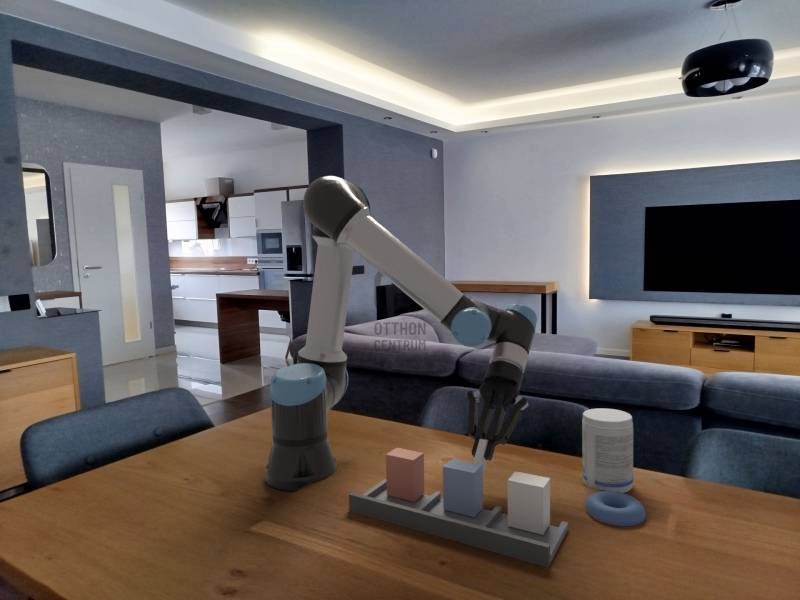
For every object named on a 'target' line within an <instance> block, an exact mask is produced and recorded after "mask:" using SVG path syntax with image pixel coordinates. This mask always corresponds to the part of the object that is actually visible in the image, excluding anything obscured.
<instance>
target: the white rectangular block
mask: <svg viewBox="0 0 800 600" xmlns="http://www.w3.org/2000/svg"><path fill="white" fill-rule="evenodd" d="M507 515H508V526H510V527H514V528H518V529H522V530H525V531H529V532H533V533H537V534H541V535H544V533H545V531H546V530H547V528H548V526H549V525H551V477H547V476H540V475H536V474H531V473H526V472H520V471H516V470H515V471H514V472H513V474H511V476H510V477H509V478H508V479H507Z"/></svg>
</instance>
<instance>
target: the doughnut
mask: <svg viewBox="0 0 800 600" xmlns="http://www.w3.org/2000/svg"><path fill="white" fill-rule="evenodd" d="M584 509H585V512H586V513H587V515H588V516H589V517H591V518H592V519H594V520H596V521H598V522H601V523H604V524H607V525H610V526H611V525H612V526H615V527H616V526H617V527H618V526H619V527H634V526H638V525H640V524H641V523H643V522H645V519H646V516H647V513H646V509H645V507H644V505H643V504H642V502H641V501H639V500H638V499H637V498H636V497H634V496H631V495H629V494H627V493H620V492H615V491H605V490H601V491H597V492H594V493H592V494H590V495H589V496H588V497H587V499H586V501H585V504H584Z"/></svg>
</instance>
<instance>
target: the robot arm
mask: <svg viewBox="0 0 800 600" xmlns="http://www.w3.org/2000/svg"><path fill="white" fill-rule="evenodd" d="M302 201H303V202H302V203H303V205H302V206H303V210H304V213H305V216H306V217H307V220H308V221H309V222H310V223H311V224H312V225H313V227H312V228H313V229H312V239H313V240H314V241H315V242H316V244H317V248H316V249H317V250H316V260H315V265H314V267H315V268H314V275H313V283H312V290H311V291H312V292H311V299H310V308H309V315H308V322H307V323H308V324H307V332H306V338H305V339H306V341H305V345H304V347H302V348H300V350H298V352H297V358H296V359H297V361H296V363H295V364H294V363H293V364H290V365H288V366H283V367H280V368H278V369H277V370H276V371H274V373H273V374H272V375H271V377H270V384H269V386H270V387H269V396H270V412H271V413H270V414H271V434H272V445H271V450H270V452H269V455H268V461H267V464H266V466H265V482H266V483H267V485H268V486H270V487H272V488H274V489H276V490H281V491H289V492H290V491H292V492H293V491H295V492H296V491H298V490H300V489H302V488H304V487H305V486H307V485H309V484H312V483H317V482H320V481H322V480H326V479H327V478H329V477H331V476H332V475H333V474H335V472H336V471H337V469H338V467H337V466H338V465H337V461H336V458H335V457H334V455H333V451H332V448H331V445H330V441H329V438H328V412H329V411H330V410H331V409H332V408H333V407H334V406H335V405H336V404H337V403H338V402H340V401H341V399H342V398H343V397H344V396H345V394H346V391H347V388H348V386H349V373H348V370H347V363H348V362H347V361H348V356H347V354H346V352H344V351H343V344H344V343H343V342H344V338H345V337H344V336H345V330H346V327H345V326H346V320H347V313H348V306H349V298H350V291H351V283H352V275H353V269H354V268H353V266H354V259H355V253H357V255H359V256H360V257H361V258H362V259H363V260H365V261H366V262H368V264H369V265H371V266H372V267H373V268H374V269H376V271H378V272H379V273H380V274H381V275H383V276H384V277H386V279H387V280H389V281H390V282H391V283H393V284H394V286H396V287H397V288H398V289H399V290H401V291H402V292H403V293H404V294H405V295H407V296H408V297H409V298H410V299H411V300H412V301H414V303H416V304H418V305H419V306H420V307H421V308H423V309H424V310H425V311H426V312H427V313H428V314H429V315H431V316H432V317H433V318H434V319H435V320H437V321H438V322H439V323H440V324H441V325H443V327H444V328H445V329H447V330H448V331H449V332H450V333H451V334H452V336H453V339H454V340H455V341H456V342H457V343H459V344H460V345H462V346H464V347H466V348H467V347H468V348H474V347H478V346H480V345H482V344H483V343H485V342H486V340H487V341H489V342H492V343H494V346H493V350H492V353H491V356H490V359H489V363H488V366H487V368H486V373H485V376H484V378H483V383H482V384H481V385H480V386H479V388H478V390H475V391H472V390H469V391H467V393H466V395H467V399H468V400H469V401H468V402H469V403H468V419H467V434H468V435H469V436H470V438H471V440H474V442H473V445H472V449H471V456H472V457H473V461H472V463H476V464H481V465H483V473H484V472H485V469H486V465H487V462H488V461H491V460H492V459H493V457H494V454H495V453H494V452H495V450H496V449H495V448H496V446H497V445H506V444H507V443H508V441H509V439H510V438H511V435H512V433H513V432H514V430H515V428H516V426H517V424H518V423H519V420H520V419H521V417H522V415H523V414H524V413H525V412H526V411H527V410H528V409H529V408H530V405H529V402H528V400H527V398H526V397H522V396H521V392H520V390H521V386H522V383H523V378H524V373H525V370H526V367H527V362H528V358H529V355H530V350H531V348H532V343H533V340H534V336H535V334H536V327H537V322H538V321H537V320H538V316H537V313H536V312H535V311H534V310H533V309H532V308H531V307H530V306H527V305H525V304H523V303H522V304H521V303H520V304H517V303H513V304H509V305H508V306H507V307H506V308H505V309H501V308H498V307H495V306H492V305H489V304H487V303H484V302H481V301H478V300H476V299H473V298H472V297H469V296H466V295H465V294H464V293H463V292H462V291H460V290H459V288H457V287H456V286H455V285H454V284H452V282H450V281H449V280H447V279H446V278H445V277H444V276H442V275H441V274H440V273H439V272H438V271H437V270H435V268H433V267H432V266H431V265H430V264H429V263H427V262H426V261H425V260H424V259H422V258H421V257H420V256H418V255H417V254H416V253H415V252H414V251H413V250H412V249H411V248H410V247H408V246H407V245H406V244H404V243H403V242H402V241H401V240H399V239H398V238H397V237H396V235H394V234H392V233H391V231H389V230H388V229H387V228H385V227H384V226H383V225H382V224H380V223H379V222H378V221H377V220H376V219H374V217H372V216H371V214H372V205H371V202H370V198H369V197H368V194H366V191H364V190H363V189H362V188H361V187H360V186H359V185H357V184H355V183H354V182H350V181H348V180H346V179H344V178H343V177H340V176H336V175H325V176H320V177H319V178H317V179H315V180H314V181H312V182H311V183H310V184H309V185H308V187H307V189H306V190H305V192H304V195H303V199H302ZM480 398H481V399H482V401H483V408H482V411H481V414H480V419H479V417H478V416H479V404H478V403H480V400H481V399H480ZM512 405H513V407H512V408H511V411H510V413H509V414H508V416H507V418H506V420H505V421H504V419H505V416H506V415H507V412H508V409H509V408H510V407H511V406H512ZM492 416H493V417H492ZM478 419H479V420H478ZM478 421H479V422H478ZM491 421H492V422H491ZM489 427H490V428H489ZM488 431H489V433H488ZM487 434H488V435H487ZM486 437H487V439H486Z"/></svg>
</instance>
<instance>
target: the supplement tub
mask: <svg viewBox="0 0 800 600" xmlns="http://www.w3.org/2000/svg"><path fill="white" fill-rule="evenodd" d="M581 420H582V421H581V423H582V425H581V429H582V430H581V434H582V436H581V437H582V438H581V439H582V440H581V441H582V447H581V448H582V482H583V483H584V485H585V486H586V487H587V488H589V489H596V490H601V491H615V492H620V493H624V494H626V493H628V492H629V491H631V489H632V488H633V486H634V423H633V416H632V415H631V413H629V412H626V411H623V410H620V409H614V408H606V407H605V408H597V407H596V408H591V409H585V411H584V412H582V418H581Z"/></svg>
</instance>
